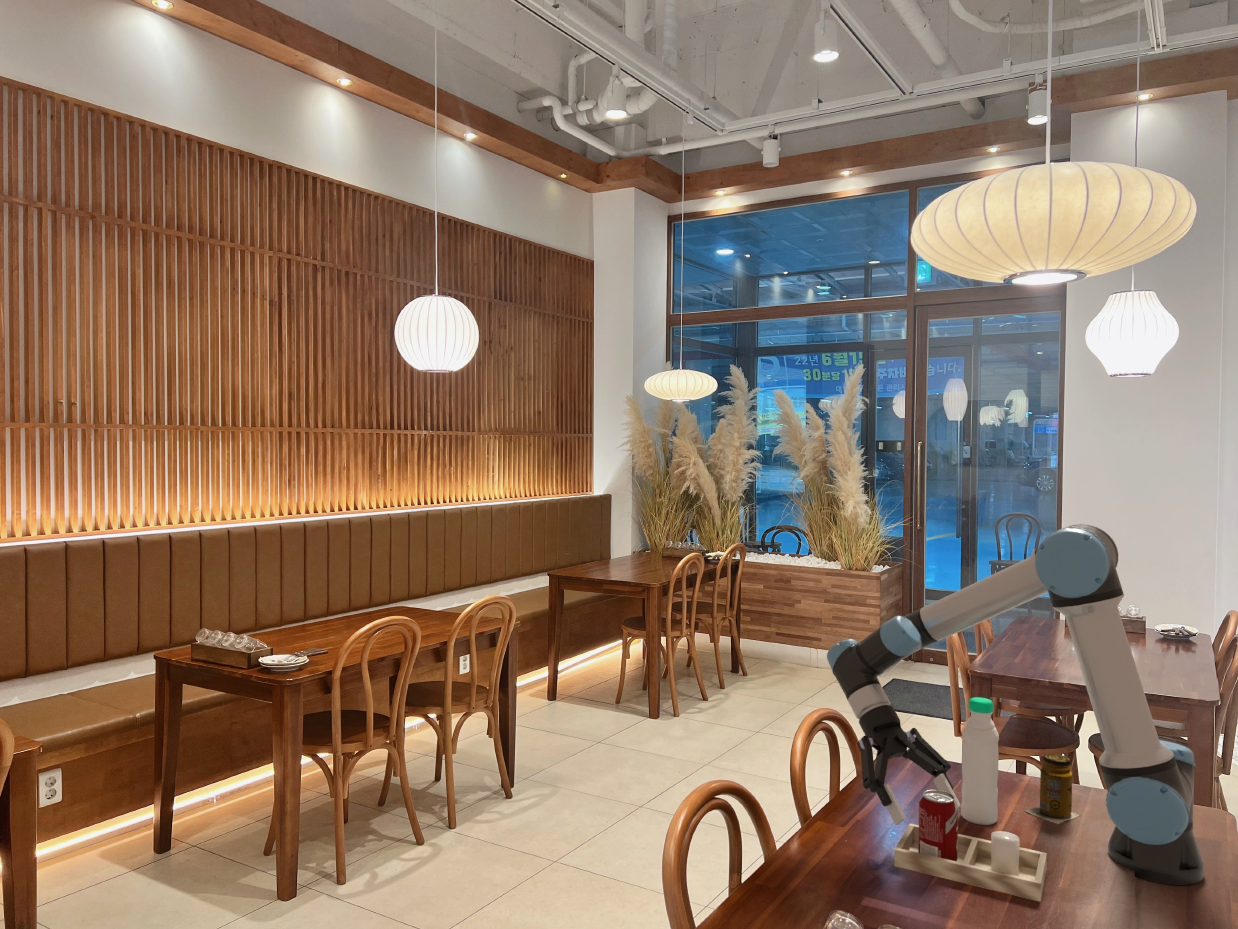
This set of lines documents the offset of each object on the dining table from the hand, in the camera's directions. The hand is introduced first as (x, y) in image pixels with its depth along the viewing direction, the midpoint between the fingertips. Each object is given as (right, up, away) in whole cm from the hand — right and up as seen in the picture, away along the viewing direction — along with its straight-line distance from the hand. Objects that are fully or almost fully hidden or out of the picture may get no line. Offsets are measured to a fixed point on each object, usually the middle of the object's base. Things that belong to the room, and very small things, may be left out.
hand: (929, 815), depth 162 cm
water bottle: (+17, -9, +19) cm, 27 cm away
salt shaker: (+11, -8, -7) cm, 15 cm away
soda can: (+1, -8, -2) cm, 8 cm away
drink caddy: (+6, -9, -4) cm, 11 cm away
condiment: (+34, -9, +22) cm, 42 cm away
